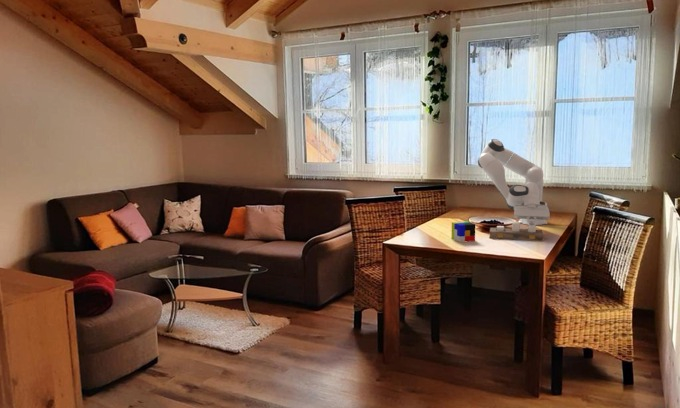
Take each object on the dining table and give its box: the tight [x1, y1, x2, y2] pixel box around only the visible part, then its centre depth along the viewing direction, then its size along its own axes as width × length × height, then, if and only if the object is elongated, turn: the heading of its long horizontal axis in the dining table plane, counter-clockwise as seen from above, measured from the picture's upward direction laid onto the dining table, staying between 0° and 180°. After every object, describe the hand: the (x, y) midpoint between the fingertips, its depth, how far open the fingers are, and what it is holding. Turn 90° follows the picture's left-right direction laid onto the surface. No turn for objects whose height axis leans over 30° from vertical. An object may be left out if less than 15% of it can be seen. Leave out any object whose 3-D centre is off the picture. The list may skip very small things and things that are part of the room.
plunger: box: [527, 224, 537, 232], centre depth 307 cm, size 4×4×6 cm
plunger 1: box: [496, 225, 505, 231], centre depth 312 cm, size 4×4×6 cm
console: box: [489, 227, 544, 242], centre depth 310 cm, size 12×30×4 cm, turn 73°
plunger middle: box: [511, 221, 521, 232], centre depth 309 cm, size 4×4×6 cm
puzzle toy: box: [451, 220, 476, 243], centre depth 305 cm, size 10×10×10 cm
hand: (531, 224), depth 306 cm, fingers closed, pressing on plunger
